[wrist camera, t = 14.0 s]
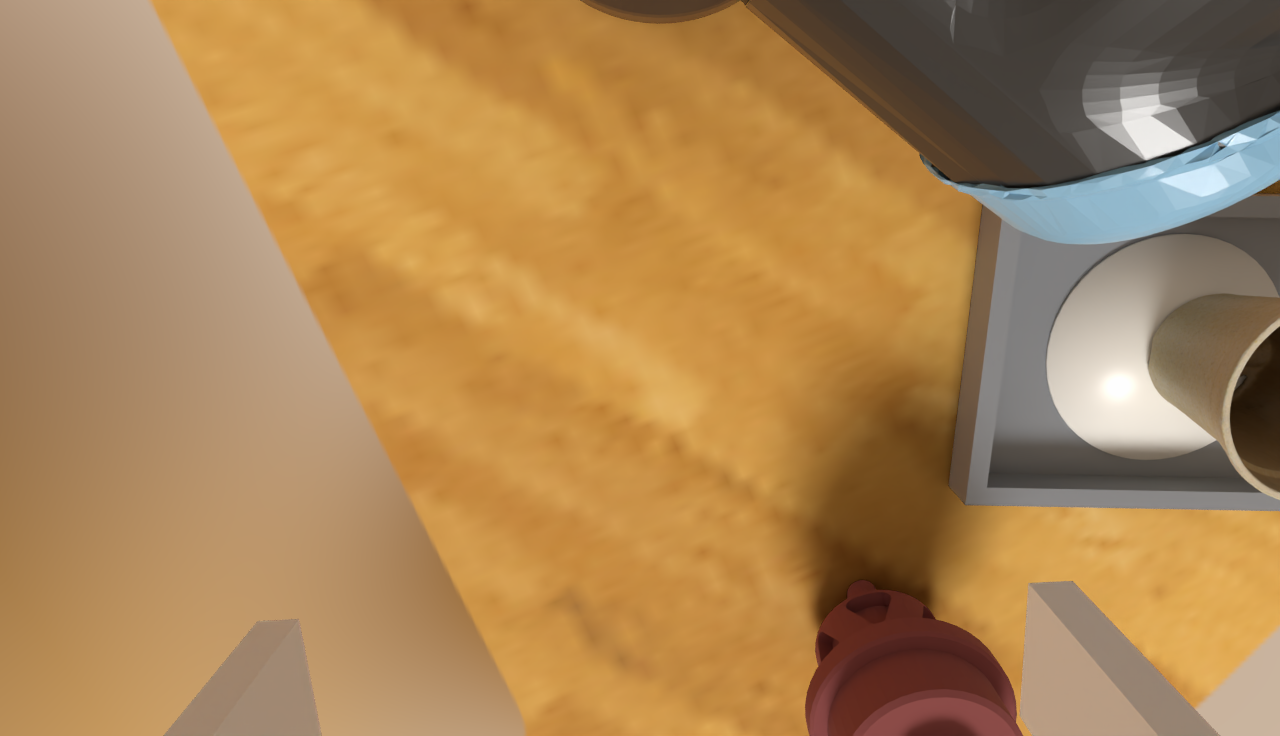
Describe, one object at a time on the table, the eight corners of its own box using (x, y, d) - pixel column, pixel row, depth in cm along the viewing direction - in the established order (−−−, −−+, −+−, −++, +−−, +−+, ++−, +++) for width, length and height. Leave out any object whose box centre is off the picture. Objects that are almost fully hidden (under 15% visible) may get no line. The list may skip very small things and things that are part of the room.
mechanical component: (806, 719, 50) (765, 575, 47) (971, 680, 49) (938, 531, 46) (855, 901, 38) (804, 721, 35) (1075, 853, 37) (1039, 665, 34)
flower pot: (1078, 401, 43) (1181, 462, 35) (1171, 233, 41) (1304, 255, 33) (1235, 462, 44) (1371, 536, 36) (1334, 300, 42) (1505, 338, 34)
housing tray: (984, 188, 41) (1005, 191, 39) (1387, 195, 41) (1433, 198, 39) (948, 486, 46) (965, 504, 43) (1313, 492, 45) (1351, 512, 43)
